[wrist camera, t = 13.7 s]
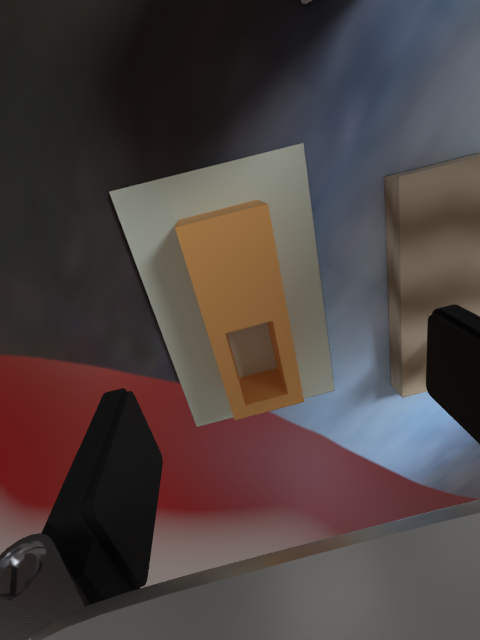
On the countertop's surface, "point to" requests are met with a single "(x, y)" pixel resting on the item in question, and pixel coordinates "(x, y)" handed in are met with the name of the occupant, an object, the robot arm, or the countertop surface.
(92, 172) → the countertop surface
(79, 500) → the robot arm
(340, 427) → the countertop surface
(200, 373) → the mat
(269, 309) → the link
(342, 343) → the countertop surface
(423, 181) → the peg base
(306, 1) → the skincare box
